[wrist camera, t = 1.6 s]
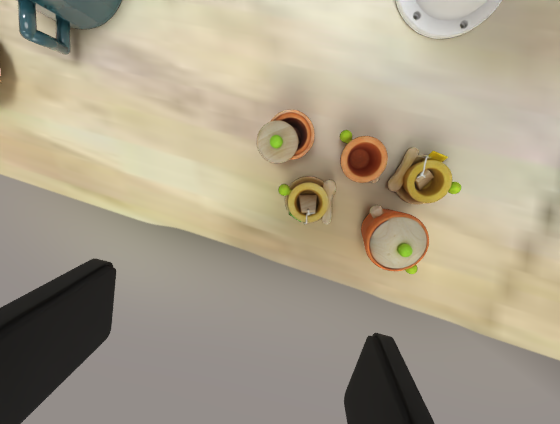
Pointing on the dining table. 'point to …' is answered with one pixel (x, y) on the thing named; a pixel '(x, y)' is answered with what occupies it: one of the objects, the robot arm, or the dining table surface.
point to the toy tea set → (361, 168)
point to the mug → (63, 19)
